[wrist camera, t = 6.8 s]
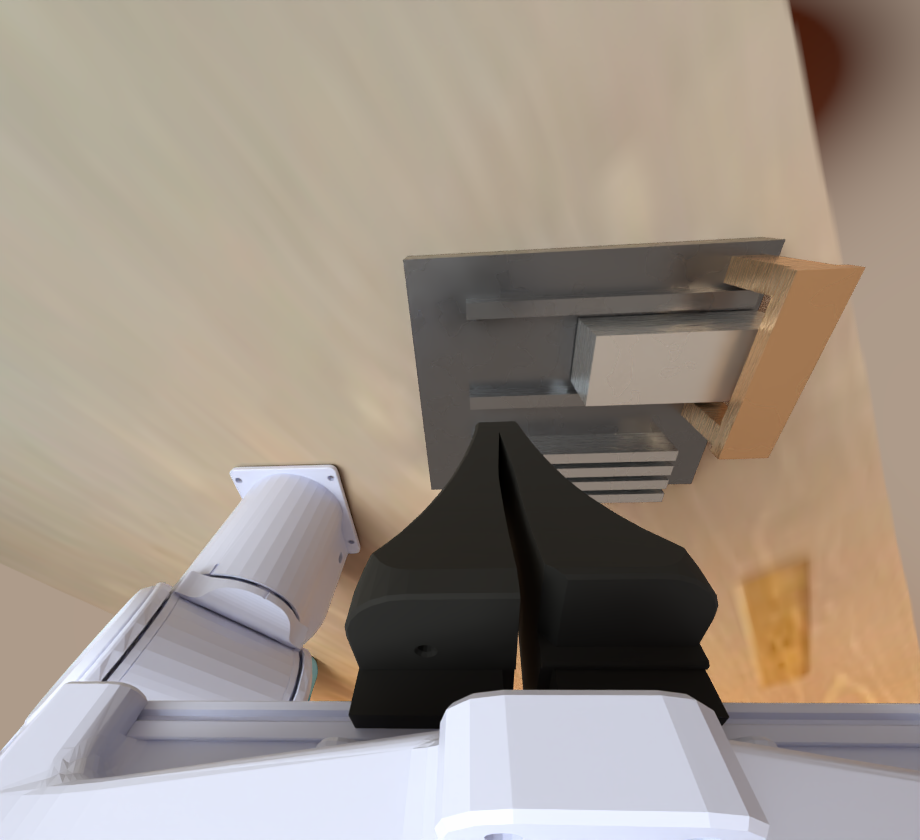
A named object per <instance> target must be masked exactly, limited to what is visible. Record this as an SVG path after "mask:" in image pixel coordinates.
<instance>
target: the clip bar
mask: <svg viewBox="0 0 920 840" xmlns="http://www.w3.org/2000/svg"><path fill="white" fill-rule="evenodd" d="M764 314H765V313H764V312H761V311H758V310H751V311H728V312H706V313H683V314H661V315H638V316H616V317H593V318H578V326H577V334H576V342H575V350H574V358H573V366H572V374H571V382H572V384H573V386H574V387H575V389H576V391H577V393H578V394H579V396H580V398H581V399H582V401H583V403H584V404H585V406H608V405H638V404H668V403H699V402H729V401H730V400H731V397H732V395H733V392H734V390H735V387H736V385H737V382H738V380H739V377H740V375H741V372H742V370H743V367H744V365H745V362H746V359H747V357H748V354H749V352H750V349H751V347H752V344H753V342H754V339H755V337H756V334H757V332H758V329H759V327H760V324H761V322H762V319H763V317H764Z"/></svg>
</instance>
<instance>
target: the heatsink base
mask: <svg viewBox="0 0 920 840" xmlns="http://www.w3.org/2000/svg"><path fill="white" fill-rule="evenodd" d="M784 242H785V239H775V238H765V237H758V238H739V239H720V240H702V241H683V242H664V243H646V244H627V245H608V246H590V247H571V248H552V249H534V250H515V251H496V252H478V253H459V254H440V255H422V256H407V257H406V258H405V259H404V260H403V262H404V271H405V279H406V287H407V295H408V303H409V311H410V319H411V327H412V335H413V343H414V351H415V359H416V368H417V376H418V384H419V392H420V400H421V408H422V416H423V424H424V432H425V440H426V448H427V456H428V465H429V473H430V481H431V489H432V490H435V489H443V488H444V487H445V485H446V484H447V483H448V481H449V480H450V479H451V477H452V476H453V474H454V472H455V471H456V469H457V467H458V466H459V464H460V462H461V461H462V459H463V457H464V455H465V453H466V451H467V449H468V447H469V445H470V442H471V440H472V437H473V434H474V431H475V425H476V424H477V423H479V422H505V421H515V422H516V423H518V425H519V426H520V428H521V429H522V430H523V432H524V433H525V434H526V436H527V437H528V438H529V440H530V441H531V442H532V443H533V444H534V446H535V447H536V448H537V449H538V450H539V451H540V452H541V454H542V455H543V456H544V457H545V458H546V459H547V460H548V461H549V462H550V463H551V464H552V465H553V466H554V467H555V468H556V469H557V470H558V471H559V472H560V473H561V474H562V475H563V476H564V477H565V478H567V479H568V480H569V481H570V482H571V483H573V484H574V485H575V486H576V487H578V488H579V489H580V490H582V491H583V492H584V493H586V494H587V495H588V496H590V497H591V498H593V499H594V500H596V501H597V502H599V503H622V502H662V499H663V496H664V492H663V491H662V489H666V487H667V484H691V483H692V480H693V477H694V475H695V472H696V470H697V467H698V465H699V462H700V459H701V457H702V454H703V452H704V449H705V446H706V444H707V441H709V442H710V443H711V444H712V448H711V450H710V451H711V452H712V453H713V454H714V455H715V456H716V457H717V458H718V459H747V458H768V457H769V455H770V453H771V451H772V449H773V447H774V445H775V443H776V441H777V439H778V438H779V436H780V434H781V432H782V430H783V428H784V426H785V424H786V422H787V420H788V418H789V416H790V414H791V412H792V410H793V408H794V406H795V404H796V402H797V400H798V398H799V396H800V394H801V392H802V391H803V389H804V387H805V385H806V383H807V381H808V379H809V377H810V375H811V373H812V371H813V369H814V367H815V365H816V363H817V361H818V359H819V357H820V355H821V353H822V351H823V349H824V347H825V345H826V344H827V342H828V340H829V338H830V336H831V334H832V332H833V330H834V328H835V326H836V324H837V322H838V320H839V318H840V316H841V314H842V312H843V310H844V308H845V306H846V304H847V302H848V300H849V298H850V297H851V295H852V293H853V291H854V289H855V287H856V285H857V283H858V281H859V279H860V277H861V275H862V273H863V271H864V269H865V267H861V266H855V265H833V264H827V263H820V262H814V261H807V260H801V259H794V258H787V257H781V256H779V255H780V252H781V249H782V247H783V244H784ZM764 295H768V296H771V299H770V302H769V304H768V307H767V309H766V312H765V314H764V317H763V319H762V322H761V324H760V327H759V329H758V332H757V334H756V337H755V339H754V342H753V344H752V347H751V349H750V352H749V354H748V357H747V359H746V362H745V365H744V367H743V370H742V372H741V375H740V377H739V380H738V382H737V385H736V387H735V390H734V392H733V395H732V397H731V400H730V402H729V405H728V406H727V405H725V404H724V403H723V402H699V403H668V404H638V405H608V406H585V404H584V403H583V401H582V399H581V398H580V396H579V394H578V393H577V391H576V389H575V387H574V386H573V384H572V382H571V374H572V366H573V358H574V350H575V342H576V334H577V326H578V318H593V317H616V316H638V315H661V314H683V313H706V312H728V311H751V310H758V309H759V306H760V304H761V301H762V299H763V296H764Z"/></svg>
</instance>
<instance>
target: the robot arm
mask: <svg viewBox="0 0 920 840" xmlns="http://www.w3.org/2000/svg"><path fill="white" fill-rule="evenodd" d="M230 476H231V478H232V480H233V482H234V484H235V486H236V488H237V490H238V492H239V494H240V496H241V497H242V500H241V502H240V503H239V504H238V506H237V507H236V508H235V509H234V511H233V512H232V513H231V514H230V516H229V517H228V518H227V520H226V521H225V522H224V523H223V525H222V526H221V527H220V529H219V530H218V531H217V532H216V534H215V535H214V536H213V538H212V539H211V540H210V541H209V543H208V544H207V545H206V547H205V548H204V549H203V550H202V552H201V553H200V554H199V555H198V557H197V558H196V559H195V561H194V562H193V563H192V564H191V566H190V567H189V568H188V570H187V571H186V572H185V573H184V575H183V576H182V577H181V579H180V580H179V581H178V582H177V583H176V584H175V585H174V586H173V587H172V586H170V585H168V584H166V583H163V582H160V583H157V584H156V585H155V586H150V587H146V588H143V589H141V590H139V591H138V592H137V593H136V594H135V595H134V596H133V597H132V598H131V599H130V600H129V601H128V602H127V603H126V605H125V606H124V607H123V608H122V609H121V610H120V611H119V612H118V613H117V614H116V615H115V616H114V617H113V619H112V620H111V621H110V622H109V623H108V624H107V625H106V626H105V627H104V629H103V630H102V631H101V632H100V633H99V634H98V635H97V636H96V638H95V639H94V640H93V641H92V642H91V643H90V644H89V645H88V646H87V648H86V649H85V650H84V651H83V652H82V653H81V655H79V657H78V658H77V659H76V660H75V661H74V662H73V664H72V665H71V666H70V667H69V668H68V669H67V671H66V672H65V673H64V674H63V675H62V676H61V677H60V678H59V680H58V681H57V682H56V683H55V684H54V686H53V687H52V688H51V689H50V690H49V691H48V693H47V694H46V695H45V696H44V697H43V699H42V700H41V701H40V702H39V703H38V704H37V706H36V707H35V708H34V709H33V711H32V712H31V713H30V715H29V716H28V717H27V719H26V720H25V724H24V725H23V726H22V727H21V728H20V729H19V730H18V732H17V733H16V734H15V735H14V736H13V737H12V738H11V740H10V741H9V742H8V743H7V744H6V745H5V747H4V748H3V749H2V750H1V751H0V840H920V704H908V703H722V702H721V700H720V698H719V696H718V694H717V692H716V690H715V688H714V686H713V684H712V682H711V680H710V678H709V676H708V674H707V672H706V670H705V669H708V668H709V666H710V665H709V660H708V658H707V657H706V655H705V653H704V651H703V649H702V647H701V645H700V641H701V640H702V638H703V636H704V635H705V633H706V631H707V629H708V628H709V626H710V624H711V623H712V621H713V619H714V617H715V614H716V611H717V608H718V600H717V595H716V594H715V592H714V590H713V589H712V587H711V586H710V584H709V583H708V581H707V579H706V578H705V576H704V575H703V573H702V572H701V570H700V569H699V567H698V566H697V564H696V563H695V562H694V560H693V559H692V558H691V557H690V555H689V554H688V553H687V551H686V550H685V549H684V548H683V547H681V546H679V545H677V544H675V543H673V542H671V541H668V540H666V539H664V538H662V537H660V536H658V535H656V534H653V533H651V532H649V531H647V530H645V529H643V528H641V527H639V526H637V525H636V524H634V523H632V522H630V521H628V520H627V519H625V518H623V517H621V516H619V515H618V514H616V513H614V512H613V511H611V510H609V509H608V508H606V507H605V506H603V505H602V504H600V503H599V502H597V501H596V500H594V499H593V498H591V497H590V496H588V495H587V494H586V493H584V492H583V491H582V490H580V489H579V488H578V487H576V486H575V485H574V484H573V483H571V482H570V481H569V480H568V479H567V478H565V477H564V476H563V475H562V474H561V473H560V472H559V471H558V470H557V469H556V468H555V467H554V466H553V465H552V464H551V463H550V462H549V461H548V460H547V459H546V458H545V457H544V456H543V455H542V454H541V452H540V451H539V450H538V449H537V448H536V447H535V446H534V444H533V443H532V442H531V441H530V440H529V438H528V437H527V436H526V434H525V433H524V432H523V430H522V429H521V428H520V426H519V425H518V423H516V422H515V421H505V422H479V423H477V424H476V425H475V431H474V434H473V437H472V440H471V442H470V445H469V447H468V449H467V451H466V453H465V455H464V457H463V459H462V461H461V462H460V464H459V466H458V467H457V469H456V471H455V472H454V474H453V476H452V477H451V479H450V480H449V481H448V483H447V484H446V485H445V487H444V488H443V489H442V491H441V492H440V493H439V494H438V496H437V497H436V498H435V499H434V500H433V501H432V503H431V504H430V505H429V506H428V507H427V508H426V509H425V510H424V511H423V512H422V513H421V514H420V515H419V516H418V517H417V518H416V519H415V520H414V521H413V522H412V523H410V524H409V525H408V526H407V527H406V528H405V529H404V530H403V531H402V532H400V533H399V534H398V535H397V536H396V537H394V538H393V539H392V540H390V541H389V542H388V543H386V544H385V545H384V546H382V547H381V548H380V549H378V550H377V551H375V552H374V553H373V554H372V555H371V557H370V558H369V560H368V562H367V564H366V566H365V568H364V570H363V573H362V575H361V577H360V580H359V582H358V584H357V587H356V589H355V592H354V595H353V598H352V602H351V605H350V609H349V613H348V616H347V620H346V623H345V631H346V636H347V639H348V641H349V644H350V646H351V648H352V651H353V653H354V656H355V658H356V661H357V663H358V666H359V672H358V676H357V680H356V685H355V689H354V693H353V697H352V701H308V698H309V695H310V690H311V685H312V658H311V654H310V652H309V651H308V650H307V649H305V648H303V647H302V646H303V644H305V643H306V642H307V641H308V640H309V639H310V638H311V637H312V636H313V635H314V634H315V633H316V632H317V630H318V629H319V628H320V626H321V625H322V623H323V621H324V619H325V617H326V615H327V612H328V609H329V607H330V604H331V601H332V598H333V595H334V592H335V589H336V587H337V584H338V581H339V578H340V575H341V572H342V569H343V567H344V564H345V561H346V558H347V555H348V554H355V553H358V552H359V551H360V543H359V540H358V537H357V533H356V530H355V527H354V523H353V520H352V517H351V513H350V510H349V507H348V503H347V500H346V497H345V493H344V490H343V486H342V483H341V480H340V476H339V473H338V470H337V468H336V467H335V466H333V465H300V466H263V467H235V468H233V469H232V470H231V471H230ZM330 476H333V477H334V478H333V477H330ZM241 479H242V480H241ZM171 587H172V588H171ZM518 635H519V646H520V657H521V669H522V681H523V690H513V684H514V669H516V656H517V641H518Z"/></svg>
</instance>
